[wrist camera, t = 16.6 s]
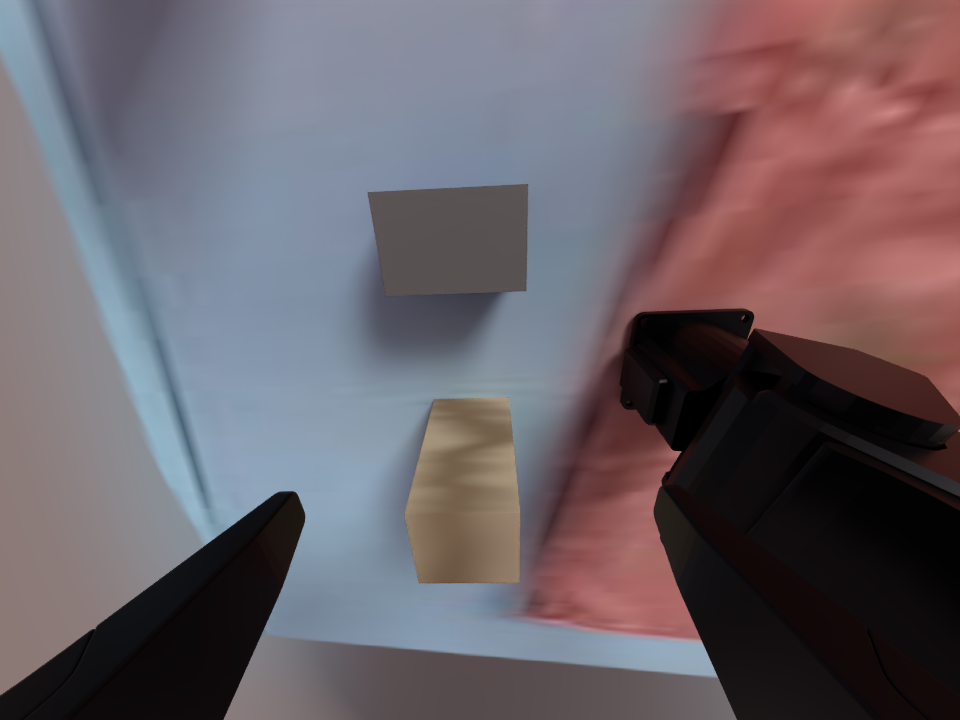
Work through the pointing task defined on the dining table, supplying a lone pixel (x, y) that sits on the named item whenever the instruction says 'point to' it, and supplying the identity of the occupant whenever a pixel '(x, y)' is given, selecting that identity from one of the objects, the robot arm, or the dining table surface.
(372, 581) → the dining table surface
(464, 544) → the birch block
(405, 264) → the charcoal brick
